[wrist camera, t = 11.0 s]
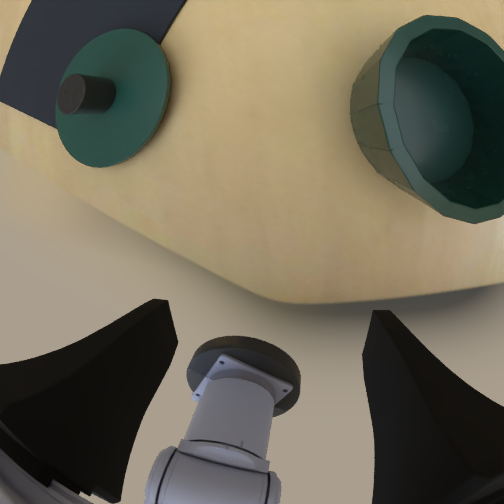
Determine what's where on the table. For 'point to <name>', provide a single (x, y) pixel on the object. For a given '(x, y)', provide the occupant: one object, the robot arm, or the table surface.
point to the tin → (436, 116)
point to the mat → (69, 44)
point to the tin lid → (112, 97)
